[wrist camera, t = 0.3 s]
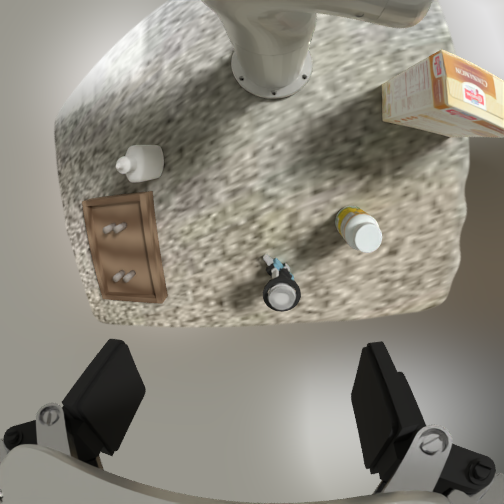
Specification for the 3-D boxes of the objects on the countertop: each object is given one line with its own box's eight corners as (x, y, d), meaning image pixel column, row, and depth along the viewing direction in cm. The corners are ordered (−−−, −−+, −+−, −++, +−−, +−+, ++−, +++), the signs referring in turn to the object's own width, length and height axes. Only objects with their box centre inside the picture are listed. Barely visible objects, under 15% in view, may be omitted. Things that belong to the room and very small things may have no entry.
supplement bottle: (328, 222, 43) (341, 240, 34) (350, 198, 41) (369, 210, 32) (350, 243, 44) (367, 265, 35) (371, 220, 42) (393, 237, 33)
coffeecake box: (449, 102, 33) (521, 91, 14) (450, 138, 35) (526, 142, 17) (380, 82, 34) (440, 46, 15) (381, 122, 36) (448, 106, 18)
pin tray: (91, 198, 45) (77, 203, 40) (152, 191, 43) (140, 195, 39) (109, 292, 51) (99, 302, 47) (167, 295, 50) (159, 307, 46)
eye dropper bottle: (138, 170, 42) (99, 178, 31) (152, 141, 40) (114, 139, 29) (158, 182, 43) (122, 192, 32) (173, 152, 41) (139, 153, 30)
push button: (253, 263, 46) (247, 290, 37) (277, 243, 45) (277, 267, 35) (279, 289, 48) (279, 321, 38) (302, 271, 46) (308, 300, 37)
